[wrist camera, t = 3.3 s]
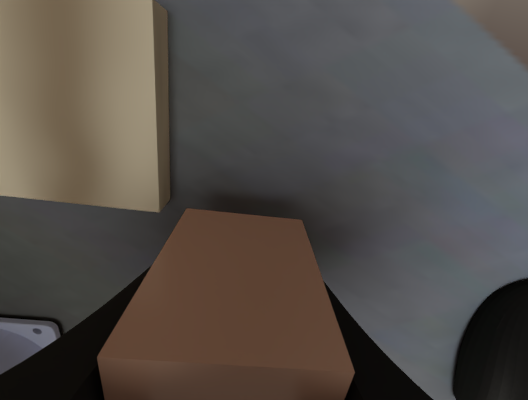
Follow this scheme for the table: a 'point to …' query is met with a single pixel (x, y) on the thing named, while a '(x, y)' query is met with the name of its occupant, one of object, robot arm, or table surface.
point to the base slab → (85, 102)
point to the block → (229, 318)
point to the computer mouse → (496, 349)
